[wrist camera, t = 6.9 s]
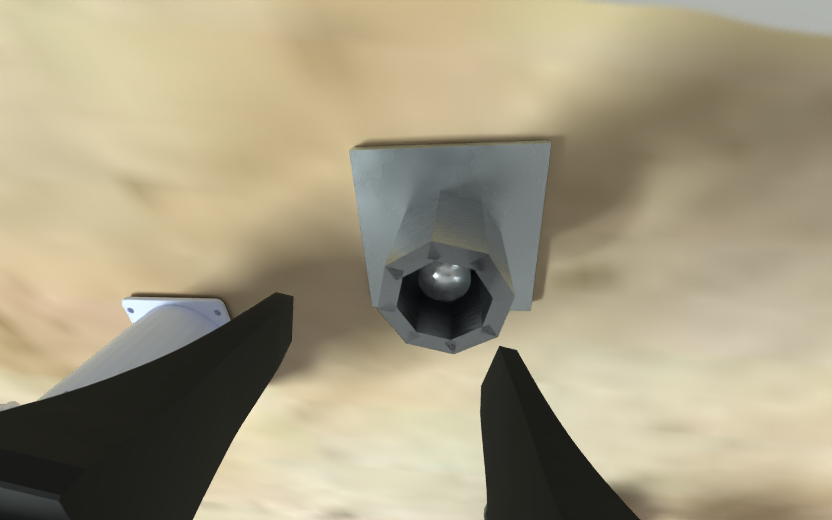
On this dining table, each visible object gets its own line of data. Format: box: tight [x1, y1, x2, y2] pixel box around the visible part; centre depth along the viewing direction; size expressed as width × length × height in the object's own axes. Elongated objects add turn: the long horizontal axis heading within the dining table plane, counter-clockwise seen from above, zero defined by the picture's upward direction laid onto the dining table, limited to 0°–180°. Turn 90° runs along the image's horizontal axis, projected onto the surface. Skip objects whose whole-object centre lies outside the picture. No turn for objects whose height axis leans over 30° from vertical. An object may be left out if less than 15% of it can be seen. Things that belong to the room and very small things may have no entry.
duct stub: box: [349, 140, 551, 311], centre depth 18 cm, size 10×10×5 cm
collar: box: [377, 191, 515, 354], centre depth 17 cm, size 5×5×6 cm
